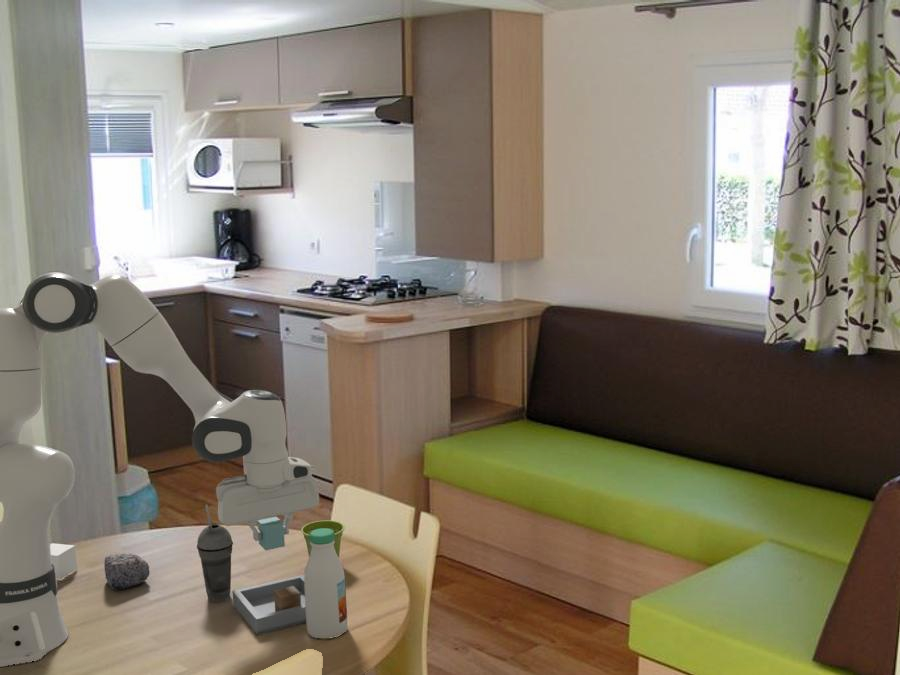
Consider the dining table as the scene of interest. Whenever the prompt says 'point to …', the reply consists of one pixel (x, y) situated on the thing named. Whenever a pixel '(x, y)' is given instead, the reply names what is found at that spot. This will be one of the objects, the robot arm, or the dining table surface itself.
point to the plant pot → (328, 524)
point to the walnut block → (286, 598)
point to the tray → (269, 605)
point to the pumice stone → (125, 570)
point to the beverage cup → (216, 560)
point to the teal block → (271, 533)
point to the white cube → (63, 559)
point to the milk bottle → (324, 587)
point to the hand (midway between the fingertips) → (271, 536)
